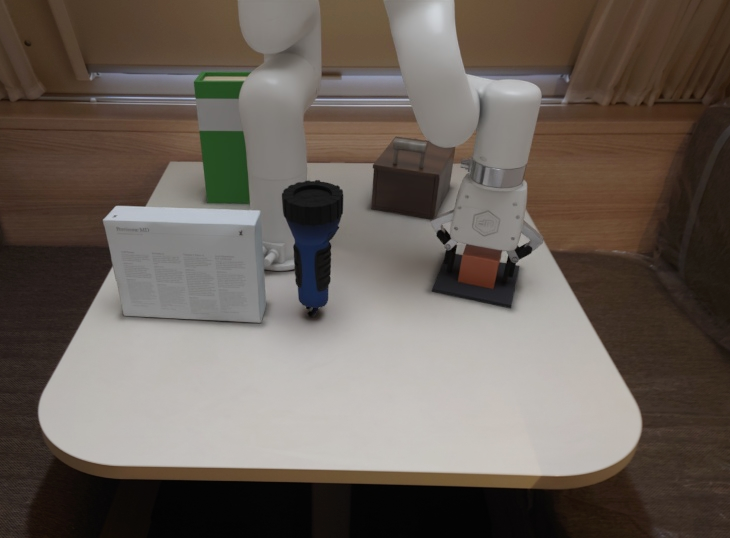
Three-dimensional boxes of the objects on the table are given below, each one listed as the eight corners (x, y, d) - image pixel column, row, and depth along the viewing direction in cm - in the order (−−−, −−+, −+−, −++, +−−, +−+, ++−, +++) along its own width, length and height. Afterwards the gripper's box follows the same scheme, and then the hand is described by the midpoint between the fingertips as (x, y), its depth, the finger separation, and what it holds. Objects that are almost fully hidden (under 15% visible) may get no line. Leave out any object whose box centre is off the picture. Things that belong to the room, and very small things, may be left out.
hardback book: (296, 188, 123) (293, 71, 109) (293, 204, 116) (291, 82, 103) (213, 187, 123) (201, 71, 110) (207, 202, 117) (193, 81, 104)
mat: (510, 308, 87) (511, 305, 86) (431, 291, 91) (432, 288, 90) (518, 268, 96) (519, 265, 95) (446, 254, 100) (446, 251, 99)
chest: (434, 219, 110) (439, 176, 105) (371, 208, 114) (373, 167, 110) (449, 188, 122) (455, 148, 117) (391, 179, 126) (395, 140, 121)
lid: (439, 178, 105) (443, 148, 102) (372, 168, 109) (374, 139, 106) (455, 147, 117) (459, 120, 114) (395, 140, 121) (397, 113, 118)
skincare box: (267, 302, 88) (262, 209, 79) (261, 324, 84) (255, 227, 75) (134, 295, 90) (114, 203, 81) (121, 316, 86) (99, 221, 77)
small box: (493, 289, 90) (499, 261, 87) (457, 281, 92) (462, 254, 89) (497, 271, 94) (503, 244, 91) (463, 264, 96) (468, 238, 93)
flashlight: (285, 333, 82) (281, 206, 71) (285, 301, 89) (282, 180, 77) (341, 332, 82) (346, 205, 71) (337, 300, 89) (341, 179, 77)
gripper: (431, 172, 83) (418, 274, 92) (560, 191, 77) (532, 298, 87) (441, 154, 88) (428, 252, 98) (562, 170, 83) (535, 273, 93)
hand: (477, 273), depth 92 cm, fingers open, 8 cm apart
